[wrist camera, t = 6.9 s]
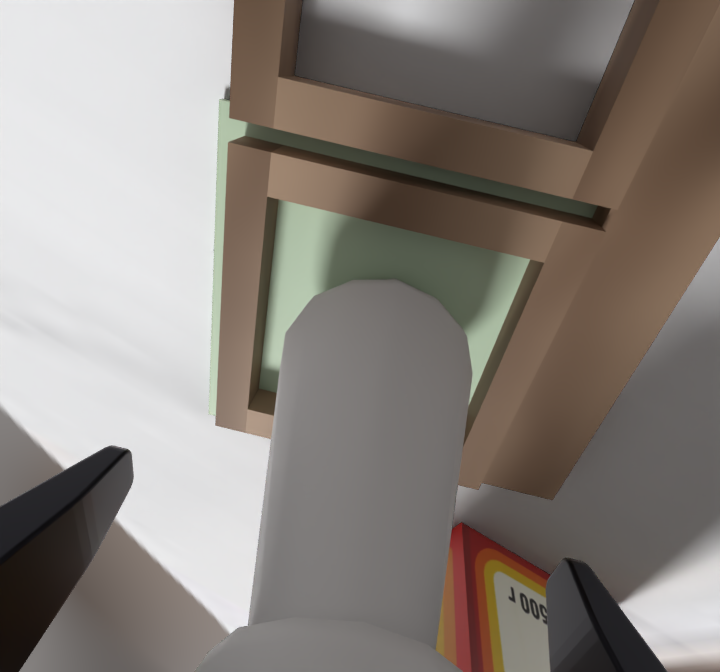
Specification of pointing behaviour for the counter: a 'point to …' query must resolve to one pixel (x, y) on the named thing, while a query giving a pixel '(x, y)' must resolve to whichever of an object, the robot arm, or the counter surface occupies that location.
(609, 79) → the frame
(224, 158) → the card
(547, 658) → the baking soda box
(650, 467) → the counter surface
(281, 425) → the salt shaker
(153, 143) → the counter surface
